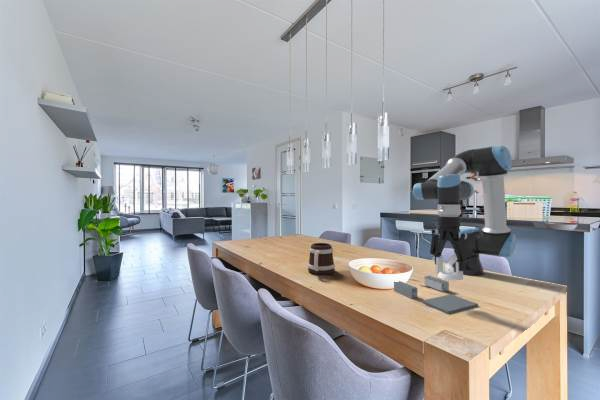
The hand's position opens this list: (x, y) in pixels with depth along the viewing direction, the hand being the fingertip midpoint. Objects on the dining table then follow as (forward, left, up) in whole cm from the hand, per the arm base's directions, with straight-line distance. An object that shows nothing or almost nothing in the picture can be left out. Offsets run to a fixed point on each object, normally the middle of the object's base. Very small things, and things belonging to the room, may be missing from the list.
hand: (449, 276), depth 101 cm
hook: (0, 0, -1) cm, 1 cm away
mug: (+24, -59, -11) cm, 65 cm away
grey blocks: (-2, -15, -11) cm, 18 cm away
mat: (0, 0, -11) cm, 11 cm away
